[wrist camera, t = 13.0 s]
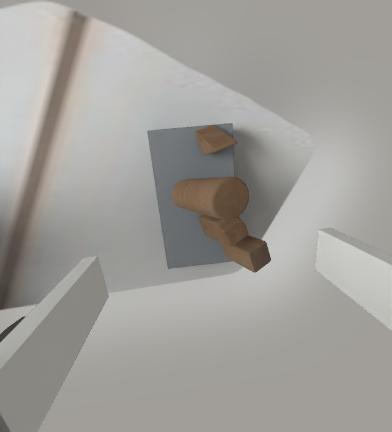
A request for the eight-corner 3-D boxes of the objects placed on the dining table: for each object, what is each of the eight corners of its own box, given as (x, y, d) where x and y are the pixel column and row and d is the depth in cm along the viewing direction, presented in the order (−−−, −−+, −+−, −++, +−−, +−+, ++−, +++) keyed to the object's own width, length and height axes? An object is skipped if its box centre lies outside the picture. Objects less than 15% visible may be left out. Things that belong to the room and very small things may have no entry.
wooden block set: (242, 238, 32) (299, 260, 23) (200, 267, 29) (246, 304, 20) (207, 128, 26) (264, 98, 17) (150, 148, 23) (183, 126, 14)
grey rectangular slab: (169, 256, 34) (168, 268, 30) (151, 134, 28) (147, 130, 25) (231, 249, 34) (237, 260, 31) (225, 128, 29) (232, 123, 25)
